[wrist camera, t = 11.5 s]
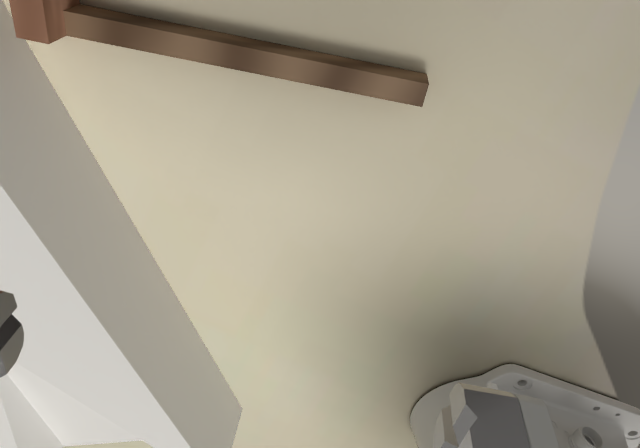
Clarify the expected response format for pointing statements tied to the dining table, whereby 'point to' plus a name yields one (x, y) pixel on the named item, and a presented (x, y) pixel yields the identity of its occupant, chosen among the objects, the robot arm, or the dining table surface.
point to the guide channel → (214, 49)
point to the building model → (88, 294)
